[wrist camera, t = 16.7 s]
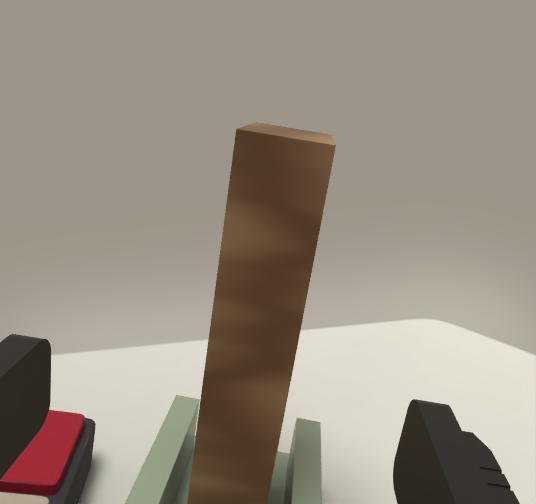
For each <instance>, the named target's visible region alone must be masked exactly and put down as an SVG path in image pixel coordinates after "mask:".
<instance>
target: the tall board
mask: <svg viewBox="0 0 536 504" xmlns="http://www.w3.org/2000/svg"><path fill="white" fill-rule="evenodd" d="M335 146H336V145H335V142H334V140H333V138H332V136H331V135H329V134H323V133H317V132H311V131H305V130H299V129H293V128H287V127H281V126H275V125H269V124H263V123H253V124H250V125H247V126H244V127H241V128H238V129H237V130H236V137H235V144H234V152H233V160H232V167H231V175H230V182H229V190H228V197H227V205H226V213H225V220H224V228H223V236H222V243H221V251H220V258H219V266H218V273H217V280H216V289H215V297H214V304H213V311H212V319H211V326H210V333H209V341H208V349H207V356H206V364H205V371H204V379H203V386H202V394H201V402H200V409H199V417H198V424H197V432H196V439H195V447H194V455H193V462H192V470H191V477H190V485H189V492H188V500H187V504H267V501H268V496H269V491H270V485H271V480H272V475H273V470H274V465H275V459H276V454H277V449H278V444H279V438H280V433H281V428H282V423H283V418H284V412H285V407H286V402H287V397H288V392H289V386H290V381H291V376H292V371H293V366H294V360H295V355H296V350H297V345H298V340H299V334H300V329H301V324H302V319H303V313H304V308H305V303H306V297H307V292H308V287H309V282H310V277H311V272H312V267H313V261H314V256H315V251H316V246H317V241H318V235H319V230H320V225H321V220H322V214H323V209H324V204H325V199H326V194H327V188H328V183H329V178H330V173H331V167H332V162H333V157H334V152H335Z"/></svg>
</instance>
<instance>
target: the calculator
mask: <svg viewBox="0 0 536 504" xmlns="http://www.w3.org/2000/svg"><path fill="white" fill-rule="evenodd" d="M94 434H95V422H94V421H93V420H92V419H88V418H85V417H84V415H82V414H77V413H70V412H62V411H53V410H49V411H48V414H47V417H46V420H45V422H44V424H43V426H42V428H41V429H40V431H39V432H38V433H37V435H36V436H35V437H34V438H33V440H32V441H31V442H30V443H29V445H28V446H27V447H26V448H25V450H24V451H23V452H22V453H21V455H20V456H19V457H18V458H17V460H16V461H15V462H14V463H13V465H12V466H11V467H10V468H9V469H8V471H7V472H6V473H5V474H4V476H3V477H2V478H1V479H0V504H77V503H78V500H79V497H80V494H81V492H82V489H83V486H84V483H85V480H86V477H87V475H88V472H89V469H90V465H91V458H92V450H93V442H94Z"/></svg>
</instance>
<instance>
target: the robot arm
mask: <svg viewBox="0 0 536 504" xmlns="http://www.w3.org/2000/svg"><path fill="white" fill-rule="evenodd" d="M50 387H51V346H50V343H49V341H48V340H46V339H40V338H35V337H28V336H22V335H16V334H12V335H9V336H8V337H6V338H5V339H4V340H3V341H2V342H0V479H1V478H2V477H3V476H4V474H5V473H6V472H7V471H8V469H9V468H10V467H11V466H12V465H13V463H14V462H15V461H16V460H17V458H18V457H19V456H20V455H21V453H22V452H23V451H24V450H25V448H26V447H27V446H28V445H29V443H30V442H31V441H32V440H33V438H34V437H35V436H36V435H37V433H38V432H39V431H40V429H41V428H42V426H43V424H44V422H45V420H46V417H47V414H48V411H49V407H50ZM393 484H394V491H395V495H396V499H397V503H398V504H520V503H519V501H518V500H517V498H516V496H515V494H514V492H513V491H511V490H510V485H509V483H508V481H507V479H506V477H505V475H504V474H502V470H501V468H500V466H499V464H498V462H497V461H496V459H495V457H494V455H493V453H492V451H491V450H490V449H489V448H488V447H487V446H486V445H485V444H484V443H483V442H482V441H481V440H479V439H478V438H477V437H476V436H475V435H474V434H473V433H471V432H465V431H462V430H461V428H460V426H459V424H458V422H457V420H456V418H455V416H454V413H453V411H452V409H451V408H450V406H449V405H446V404H440V403H434V402H427V401H421V400H415V399H414V400H412V401H411V402H410V404H409V407H408V410H407V414H406V418H405V422H404V425H403V429H402V433H401V437H400V441H399V445H398V449H397V452H396V456H395V461H394V469H393Z"/></svg>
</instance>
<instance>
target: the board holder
mask: <svg viewBox="0 0 536 504" xmlns="http://www.w3.org/2000/svg"><path fill="white" fill-rule="evenodd" d="M198 407H199V399H194V398H189V397H184V396H178V395H176V397H175V399H174V401H173V403H172V405H171V407H170V410H169V412H168V414H167V416H166V418H165V420H164V422H163V424H162V426H161V429H160V431H159V433H158V435H157V437H156V439H155V441H154V443H153V445H152V448H151V450H150V452H149V454H148V456H147V458H146V460H145V462H144V464H143V466H142V469H141V471H140V473H139V475H138V477H137V479H136V481H135V483H134V485H133V488H132V490H131V492H130V494H129V496H128V498H127V500H126V502H125V504H187V500H188V492H189V485H190V477H191V470H192V462H193V455H194V447H195V439H196V436H195V430H196V422H197V415H198ZM267 504H322V500H321V432H320V422H316V421H310V420H305V419H300V418H297V419H296V424H295V429H294V434H293V439H292V444H291V449H290V454H287V453H282V452H277V454H276V459H275V465H274V470H273V475H272V480H271V485H270V491H269V496H268V501H267Z"/></svg>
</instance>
